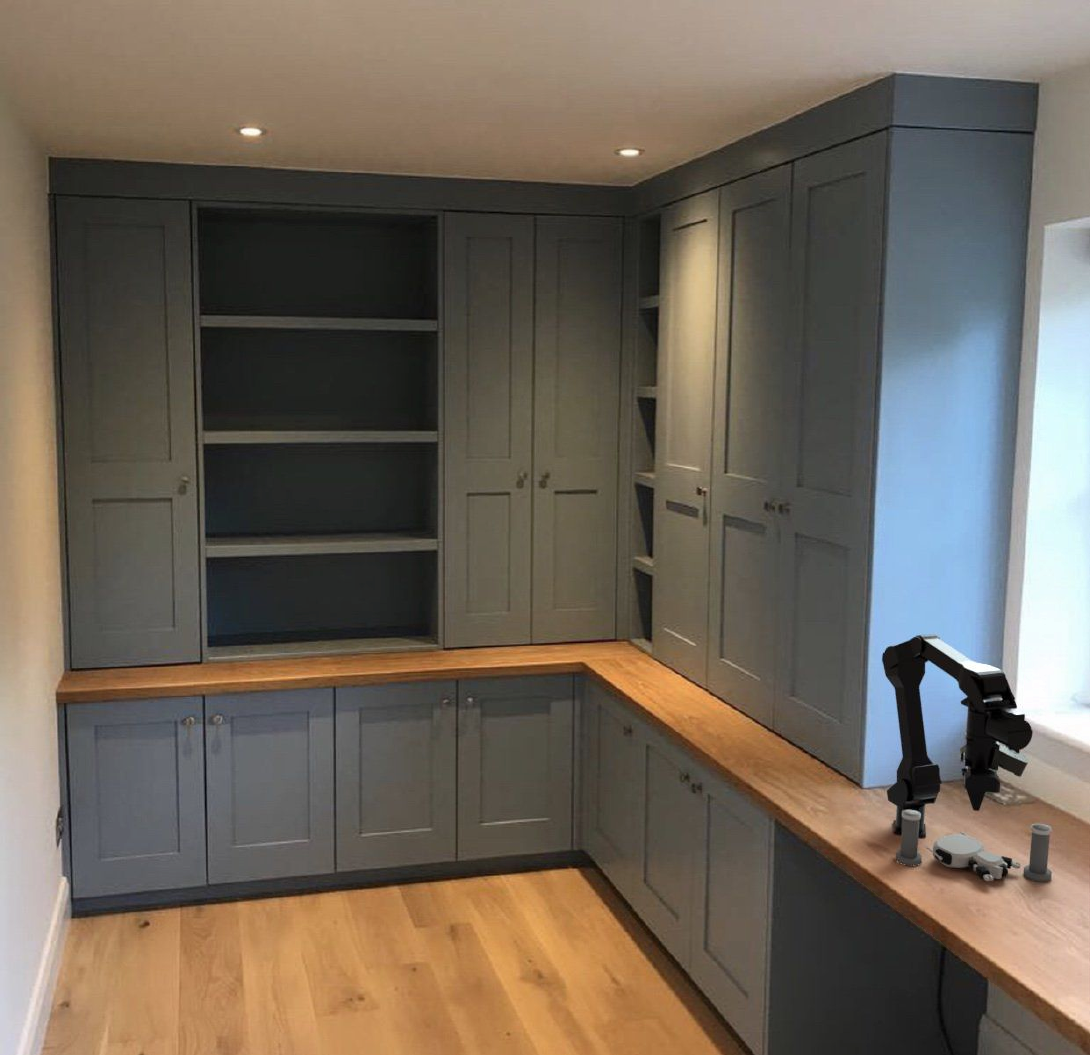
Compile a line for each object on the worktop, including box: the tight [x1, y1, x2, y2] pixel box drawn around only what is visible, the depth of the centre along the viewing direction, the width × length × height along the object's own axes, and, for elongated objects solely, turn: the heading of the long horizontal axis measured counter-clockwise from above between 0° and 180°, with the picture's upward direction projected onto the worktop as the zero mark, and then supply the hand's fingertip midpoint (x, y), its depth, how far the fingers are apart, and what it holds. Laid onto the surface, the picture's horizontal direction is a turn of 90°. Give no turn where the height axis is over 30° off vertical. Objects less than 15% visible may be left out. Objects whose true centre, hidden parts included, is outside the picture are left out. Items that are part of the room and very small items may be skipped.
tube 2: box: [1023, 823, 1052, 883], centre depth 239 cm, size 5×5×10 cm
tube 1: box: [894, 810, 923, 867], centre depth 245 cm, size 5×5×10 cm
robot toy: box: [924, 830, 1021, 882], centre depth 242 cm, size 12×4×15 cm
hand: (976, 810), depth 241 cm, fingers closed
